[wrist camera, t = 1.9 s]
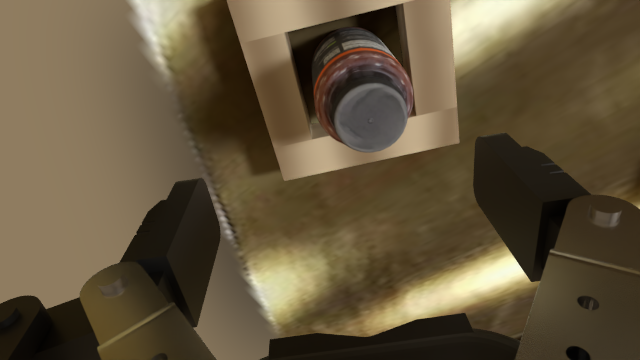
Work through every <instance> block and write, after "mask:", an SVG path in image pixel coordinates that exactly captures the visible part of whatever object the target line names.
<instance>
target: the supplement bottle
mask: <svg viewBox="0 0 640 360" xmlns="http://www.w3.org/2000/svg"><path fill="white" fill-rule="evenodd" d="M311 70H312V82H313V93H314V104H315V111H316V115H317V118H318V120H319V122H320V124H321V126H322V128H323V129H324V130H325V131H326V132H327V134H328V135H329V136H331V137H332V138H333V139H335V140H336V141H338V142H340V143H342V144H344V145H346V146H348V147H349V148H351V149H353V150H356V151H359V152H365V153H371V152H378V151H381V150H384V149H386V148H388V147H390V146H391V145H392V144H394V143H395V142H396V141H397V140H398V139H399V138H400V136H401V135H402V133H403V132H404V129H405V127H406V124H407V120H408V118H409V115H410V113H411V110H412V107H413V88H412V85H411V81H410V78H409V76H408V75H407V73H406V71H405V69H404V68H403V67H402V66H401V64H400V63H399V62H398V60H397V59H396V58H395V57H394V56H393V54H392V53H391V52H390V51H389V50H388V48H387V47H386V46H385V45H384V43H383V42H382V41H381V40H380V39H379V38H378V37H377V36H376V35H374V34H373V33H371V32H370V31H368V30H365V29H362V28H358V27H346V28H341V29H338V30H336V31H334V32H332V33H330V34H329V35H327V36H326V37H325V38H324V39H323V40H322V41H321V42H320V44H319V45H318V47H317V49H316V50H315V52H314V55H313V59H312V65H311Z"/></svg>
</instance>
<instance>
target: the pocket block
mask: <svg viewBox="0 0 640 360" xmlns="http://www.w3.org/2000/svg"><path fill="white" fill-rule="evenodd" d="M227 3H228V6H229V10H230V13H231V16H232V19H233V22H234V25H235V28H236V31H237V35H238V38H239V41H240V44H241V47H242V50H243V53H244V56H245V60H246V63H247V66H248V69H249V72H250V75H251V78H252V82H253V85H254V88H255V91H256V94H257V97H258V100H259V103H260V107H261V110H262V113H263V116H264V119H265V122H266V125H267V128H268V132H269V135H270V138H271V141H272V144H273V147H274V150H275V153H276V157H277V160H278V163H279V166H280V169H281V172H282V175H283V178H284V181H287V180H291V179H296V178H300V177H305V176H310V175H314V174H319V173H323V172H328V171H333V170H337V169H342V168H346V167H351V166H355V165H360V164H365V163H369V162H374V161H378V160H383V159H388V158H392V157H397V156H401V155H406V154H411V153H415V152H420V151H424V150H429V149H434V148H438V147H443V146H447V145H452V144H457V143H459V130H458V115H457V99H456V84H455V68H454V53H453V37H452V22H451V6H450V0H227ZM393 5H395V6H396V14H397V21H398V29H399V37H400V45H401V53H402V61H403V68H404V69H405V71H406V73H407V75H408V76H409V78H410V81H411V85H412V88H413V107H412V110H411V113H410V115H409V118H408V120H407V124H406V127H405V129H404V132H403V133H402V135H401V136H400V138H399V139H398V140H397V141H396V142H395V143H394V144H392V145H391V146H390V147H388V148H386V149H384V150H381V151H378V152H371V153H365V152H359V151H356V150H353V149H351V148H349V147H348V146H346V145H344V144H342V143H340V142H338V141H336V140H335V139H333V138H332V137H331V136H329V135H328V134H327V132H326V131H325V130H324V129H323V128H322V126H321V124H320V122H319V123H315V124H311V121H310V117H309V114H308V110H307V106H306V102H305V98H304V94H303V90H302V87H301V83H300V79H299V75H298V71H297V67H296V64H295V60H294V56H293V52H292V48H291V44H290V40H289V37H288V33H287V32H289V31H293V30H297V29H301V28H305V27H309V26H313V25H317V24H321V23H325V22H329V21H333V20H337V19H341V18H345V17H349V16H353V15H357V14H361V13H365V12H369V11H373V10H377V9H381V8H385V7H389V6H393Z"/></svg>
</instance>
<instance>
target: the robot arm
mask: <svg viewBox="0 0 640 360" xmlns="http://www.w3.org/2000/svg"><path fill="white" fill-rule="evenodd" d="M473 187H474V194H475V198H476V201H477V203H478V205H479V206H480V208H481V209H482V211H483V212H484V214H485V215H486V217H487V218H488V219H489V221H490V222H491V224H492V225H493V227H494V228H495V230H496V231H497V233H498V234H499V236H500V237H501V238H502V240H503V241H504V243H505V244H506V246H507V247H508V249H509V250H510V252H511V253H512V255H513V256H514V257H515V259H516V260H517V262H518V263H519V265H520V266H521V268H522V269H523V271H524V272H525V274H526V275H527V276H528V278H529V279H530V281H531V282H535V281H540V283H539V286H538V289H537V293H536V296H535V299H534V302H533V305H532V308H531V311H530V314H529V317H528V320H527V323H526V327H525V330H524V333H523V336H522V339H521V342H520V341H518V340H516V339H513V338H511V337H508V336H505V335H502V334H499V333H495V332H492V331H486V330H481V329H473V328H472V327H471V325H470V323H469V321H468V318H467V316H466V314H465V313H461V314H454V315H447V316H439V317H432V318H425V319H417V320H414V321H411V322H409V323H406V324H403V325H401V326H398V327H395V328H393V329H390V330H387V331H385V332H382V333H379V334H376V335H374V336H370V337H357V336H346V335H334V334H322V333H314V334H307V335H300V336H292V337H285V338H278V339H270V344H269V356H267V357H264V358H262V359H260V360H640V209H638V208H637V207H636V206H634V205H633V204H631V203H629V202H627V201H625V200H622V199H619V198H616V197H611V196H606V195H591V194H590V193H589V192H588V191H587V190H586V189H584V188H583V187H582V186H581V185H580V184H579V183H577V182H576V181H575V180H574V179H573V178H572V177H570V176H569V175H568V174H567V173H566V172H565V173H564V172H563V170H562V169H561V168H560V167H559V166H558V165H555V164H554V162H553V161H552V160H551V159H550V158H548V157H547V156H546V155H545V154H544V153H541V152H539V151H537V150H534V149H532V148H529V147H527V146H526V147H521V146H520V145H519V144H518V143H517V142H516V141H515V140H513V139H512V138H511V137H510V136H509V135H508V134H507V133H500V134H493V135H486V136H480V137H478V138H477V139H476V142H475V158H474V181H473ZM219 243H220V226H219V221H218V218H217V215H216V212H215V209H214V206H213V203H212V200H211V197H210V194H209V191H208V188H207V185H206V183H205V181H204V180H203V179H202V178H198V179H192V180H186V181H178V182H176V183H175V184H174V186H173V188H172V190H171V192H170V194H169V196H168V198H167V199H166V200H161V201H160V202H159V203H158V204H156V205H155V206H154V207H153V208H152V209H151V210H150V211H148V213H147V215H146V217H145V218H144V220H143V222H142V225H140V227H139V229H138V231H137V235H135V236H134V238H133V239H132V241H131V243H130V245H129V247H128V248H127V250H126V252H125V254H124V255H123V257H122V259H121V261H120V262H119V263H117V264H114V265H111V266H109V267H107V268H104V269H103V270H101V271H99V272H98V273H96V274H95V275H93V276H92V277H91V278H90V279H89V280H88V281H87V282H86V283H85V284H84V286H83V287H82V289H81V291H80V297H79V298H77V299H74V300H71V301H68V302H65V303H62V304H60V305H57V306H54V307H52V308H48V309H45V307H44V306H43V304H42V303H41V301H40V300H39V299H38V298H37V297H35V296H20V297H16V298H13V299H10V300H8V301H6V302H3V303H1V304H0V360H216V358H215V357H214V356H213V354H212V353H211V352H210V350H209V349H208V347H207V346H206V345H205V343H204V342H203V341H202V339H201V338H200V337H199V335H198V334H197V333H196V331H195V330H194V329H193V327H197V325H198V321H199V317H200V313H201V310H202V305H203V302H204V298H205V295H206V291H207V287H208V283H209V280H210V276H211V272H212V269H213V265H214V261H215V257H216V254H217V250H218V246H219Z"/></svg>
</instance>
